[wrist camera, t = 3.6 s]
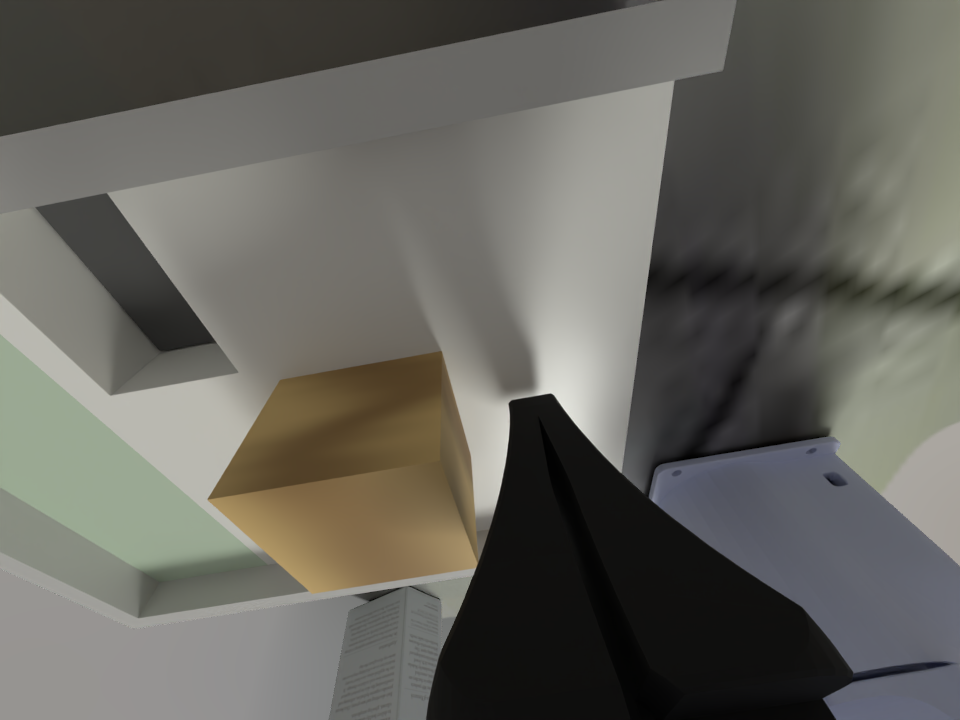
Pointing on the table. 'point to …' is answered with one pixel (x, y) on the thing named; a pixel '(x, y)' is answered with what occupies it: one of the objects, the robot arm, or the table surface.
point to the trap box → (319, 283)
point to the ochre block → (357, 476)
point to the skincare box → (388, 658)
